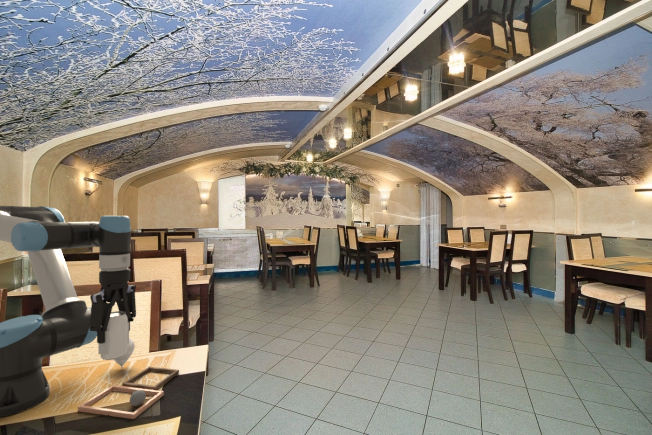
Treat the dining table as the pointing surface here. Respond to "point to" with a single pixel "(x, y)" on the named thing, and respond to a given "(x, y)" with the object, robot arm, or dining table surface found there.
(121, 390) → the open picture frame
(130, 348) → the spinning top
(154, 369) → the brown square frame
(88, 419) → the dining table surface
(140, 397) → the ball
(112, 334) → the can
